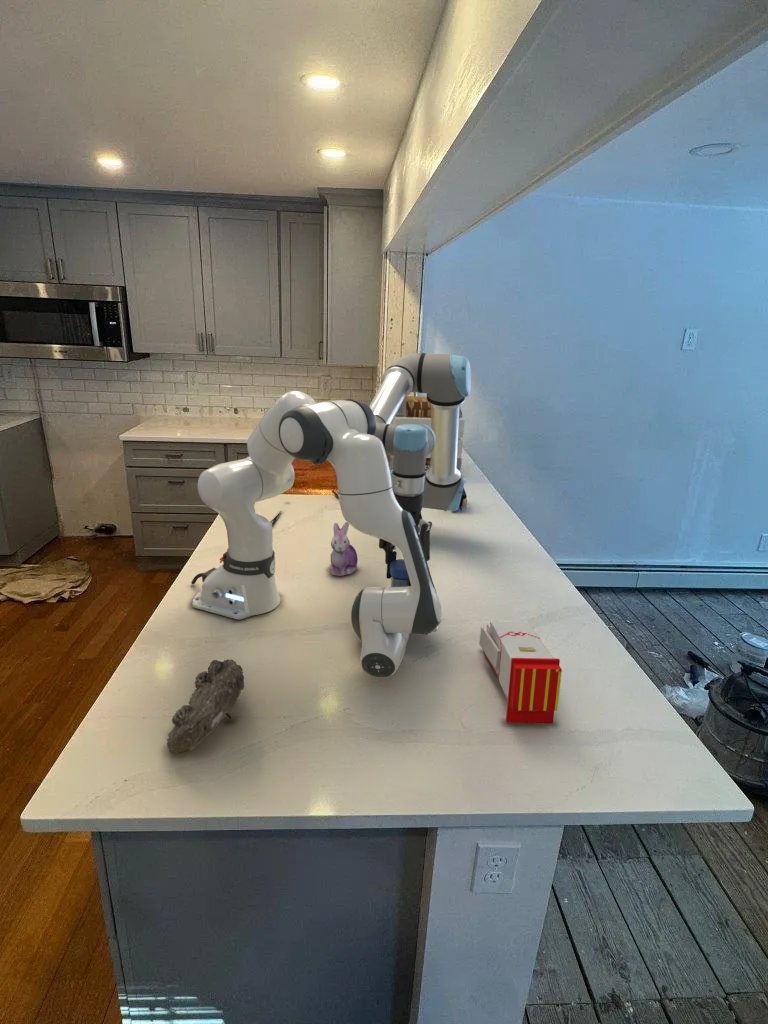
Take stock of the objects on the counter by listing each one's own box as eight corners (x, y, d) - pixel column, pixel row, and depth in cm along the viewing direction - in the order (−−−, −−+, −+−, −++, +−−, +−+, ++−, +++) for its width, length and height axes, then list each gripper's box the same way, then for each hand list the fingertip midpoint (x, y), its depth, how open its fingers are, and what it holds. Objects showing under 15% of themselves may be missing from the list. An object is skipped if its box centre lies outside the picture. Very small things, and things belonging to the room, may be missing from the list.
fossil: (192, 660, 117) (244, 628, 112) (224, 691, 120) (276, 661, 115) (142, 746, 98) (202, 712, 93) (182, 779, 101) (242, 748, 96)
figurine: (335, 579, 164) (336, 531, 159) (322, 565, 172) (322, 519, 167) (364, 574, 168) (366, 527, 163) (350, 560, 177) (351, 515, 172)
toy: (526, 605, 135) (570, 665, 105) (521, 658, 137) (563, 730, 108) (475, 604, 134) (506, 664, 105) (472, 657, 137) (500, 729, 108)
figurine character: (467, 516, 223) (461, 500, 237) (469, 499, 220) (463, 483, 233) (450, 516, 223) (446, 499, 236) (452, 498, 220) (447, 483, 233)
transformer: (382, 463, 289) (386, 382, 275) (445, 464, 293) (451, 384, 279) (390, 482, 257) (394, 392, 243) (460, 483, 261) (468, 394, 247)
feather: (288, 505, 226) (290, 501, 226) (271, 529, 199) (273, 524, 199) (284, 503, 226) (287, 499, 225) (266, 526, 199) (269, 522, 199)
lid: (420, 575, 138) (420, 567, 137) (398, 581, 135) (399, 572, 134) (406, 566, 143) (406, 557, 142) (384, 570, 140) (385, 562, 139)
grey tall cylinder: (385, 625, 142) (388, 569, 137) (393, 614, 147) (396, 560, 142) (406, 630, 140) (409, 573, 135) (413, 619, 145) (417, 564, 140)
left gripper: (437, 621, 127) (443, 592, 140) (349, 608, 130) (362, 582, 143) (435, 645, 129) (441, 615, 142) (348, 632, 132) (361, 604, 145)
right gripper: (365, 486, 135) (362, 574, 142) (432, 505, 124) (425, 599, 131) (385, 480, 140) (381, 564, 148) (450, 497, 129) (443, 588, 137)
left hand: (401, 598), depth 142 cm, fingers closed on grey tall cylinder, 5 cm apart
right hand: (402, 580), depth 140 cm, fingers closed on lid, 6 cm apart
